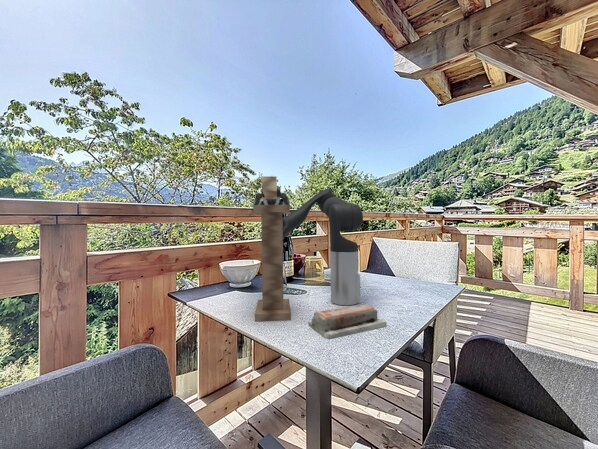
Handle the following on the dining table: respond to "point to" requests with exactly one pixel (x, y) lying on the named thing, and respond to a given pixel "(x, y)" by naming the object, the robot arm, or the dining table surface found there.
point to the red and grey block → (346, 321)
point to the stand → (272, 265)
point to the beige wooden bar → (269, 187)
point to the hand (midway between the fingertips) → (270, 187)
